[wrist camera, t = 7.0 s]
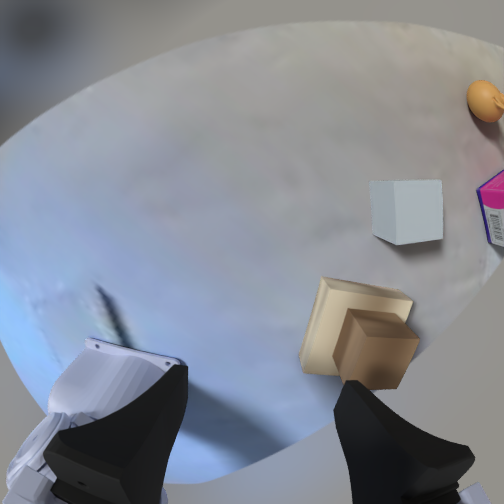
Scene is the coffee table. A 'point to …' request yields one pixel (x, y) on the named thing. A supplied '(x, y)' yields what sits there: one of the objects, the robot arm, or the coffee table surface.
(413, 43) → the coffee table surface
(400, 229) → the grey cube
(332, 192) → the coffee table surface
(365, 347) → the walnut cube
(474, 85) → the figurine
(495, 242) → the supplement box
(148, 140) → the coffee table surface
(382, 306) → the beech slab
